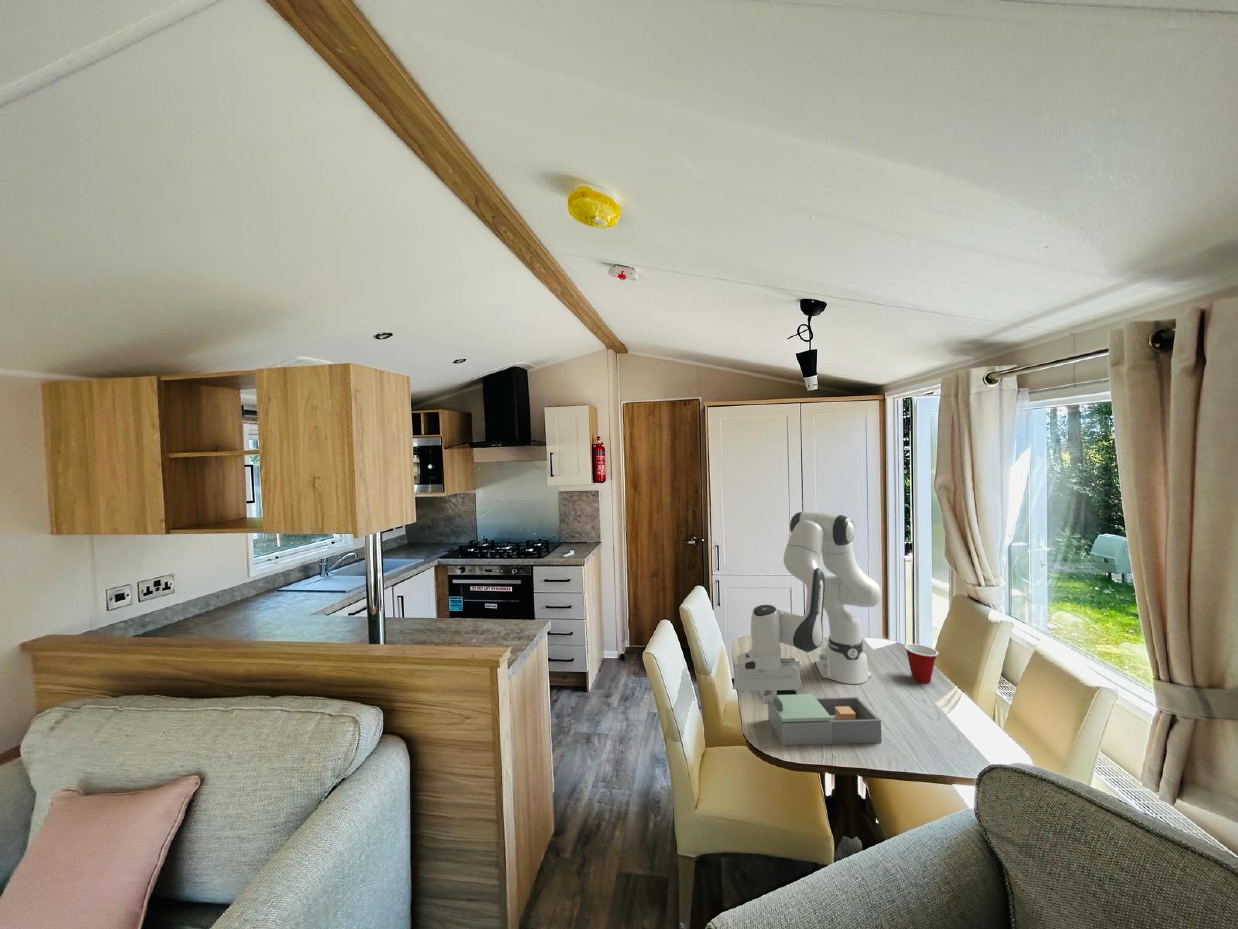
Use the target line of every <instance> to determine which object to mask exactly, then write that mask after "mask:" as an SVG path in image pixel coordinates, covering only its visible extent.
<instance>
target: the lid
mask: <svg viewBox="0 0 1238 929" xmlns="http://www.w3.org/2000/svg"><path fill="white" fill-rule="evenodd" d="M767 696H770V694H769V695H767ZM772 706H773V708H774V709H775V711H776V713H777V714H778V716H779V718H780V719H781V721H782V722H802V721H831V716H830V715H829V714H828V712H827V711H826V710H825V709H824V708H823V706H822V705H821V704H820V703H819V701H818V700H817V699H816V696H814V694H813V693H807V694H806V693H805V694H799V693H798V694H796V695H777V694H776V695H775V697H774V699H773V704H772Z"/></svg>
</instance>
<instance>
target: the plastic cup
mask: <svg viewBox="0 0 1238 929" xmlns="http://www.w3.org/2000/svg"><path fill="white" fill-rule="evenodd" d="M904 649H905V651H906V654H907V658H908V664H909V669H910V672H911V678H912V680H913V681H915V682H917V683H920V684H930V683H931V681H932V676H933V672H934V666H935V661H936V659H937V658H936V657H937V656H938V655H939V651H937V650H936V649H934V648H933V647H929V646H927V645H923V644H918V643H907V644H905V645H904Z"/></svg>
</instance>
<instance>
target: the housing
mask: <svg viewBox="0 0 1238 929" xmlns="http://www.w3.org/2000/svg"><path fill="white" fill-rule="evenodd" d="M815 698H816V697H815ZM816 699H817V700H818V701H819V703H820V704H821V705H822V706H823V708H824V709H825V710H826V711H827V712H828V714H829V715H830V716H831V721H802V722H782V721H781V719H780V718H779V716H778V714H777V713H776V711H775V709H774V708H773V706H772V704H767V713H768V715H767V717H768V719H767V720H768V722H769V723H770V724H771V727H772V728H773V730H774V733H775V734H776V736H777V737H778V739H779V741H780V743H781V744H782V746H798V745H802V746H803V745H833V744H835V745H836V744H837V745H840V744H867V743H868V744H870V743H871V744H873V743H874V744H875V743H882V720H881V719H880V718H879V717H878V716H877V715H876V714H875V713H874V712H873V711H872V709H870V708H869V707H868V706H867V705H866V704H865V703H864V702H863V701H862V700H861V699H860V698H859V697H858V696H846V697H842V696H841V697H819V698H818V697H817V698H816ZM842 706H849V707H850V708H851V709H852V710H853V711H854V712H855V713H856V720H835V707H842Z"/></svg>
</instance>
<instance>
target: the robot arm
mask: <svg viewBox="0 0 1238 929" xmlns="http://www.w3.org/2000/svg"><path fill="white" fill-rule="evenodd" d="M789 531H790V533H791V534H790V536H789V539H787V544H786V548H785V551H784V554H783V564H784V567H785V568H786V570H787V571H788V572H789V573H790V574H791V575H792V576H793V577H795V578H796V579H798V580H799V581H801V582H802V583H803V584H804V585H805V587H806V590H807V591H806V602H805V612H804V614H803V615H798V614H794V613H790V612H789V611H788V612H787V611H784V610H779V609H777V608H776V606H774V605H772V604H771V605H770V604H761V605H757V606H756V607H754V608H753V609H752V613H751V618H750V637H751V640H752V641H751V642H752V643H751V644H752V645H751V650H749V651H746V652H744V653H740V654H737V656H736V661H737V664H736V665H735V667H734V674H733V685H734V688H735V689H736V690H737V692H758V693H759V694H760V696H761V697H762V703H763V705H768V704H773V699H774V697H775V695H777V690H794V691H797V690H800V688H801V687H802V681H801V675H800V671H801V663H800V661H799V660H798V659H796V658H793V657H792V658H791V657H790V658H786V657H785V658H783V657H782V650H781V646H780V644H781V643H782V644H784V645H787V646H791V647H794V648H796V649H798V650H801V651H803V652H806V653H811V652H813V651H815V650H817V649H818V648H820V646H821V645H822V644H823V640H824V639H823V638H824V630H823V629H824V627H823V626H824V625H823V617H824V611H825V613H826V615H827V619H828V624H829V625H828V626H829V627H828V628H829V635H828V640H827V646H825V647H824V648H822V650H821V651H820V652H821V653H819V654H818V657H819V658H817V659H816V660H815V664H816V666H817V669H818V670H819V673H820V675H821V677H822V678H825V679H829V680H833V681H835V682H839V683H843V684H850V685H855V684H856V685H858V684H863V683H866V682H868V679H869V678H871V677H872V672H871V671H869V670H868V669H869V668H868V661H867V660H868V659H867V653H866V654H865V652H863V651H864V644H863V643H864V642H863V640H862V623H861V621H860V619H859V617H857V616H856V615H855V614H854V613H852V612H850V611H849V609H848V608H847V607H846V606H845V605H847V606H852V607H858V608H872V607H873V608H874V607H876V606H877V605H878V604H879V603H880V601H881V599H882V590H881V588H880V587H881V586H879V584H878V583H877V581H875V580H874V579H872V578H871V577H870V576H868V575H866V573H864V571H862V569H861V568H860V567H859V565H858V563H857V561H856V557H855V552H854V548H853V540H854V537H855V533H856V529H855V522H853V520H852V519H851V518H850V517H849V516H845V515H841V514H834V513H828V512H807V511H801V512H796V513H795V514H794V515H793V516H792V517H791V520H790V522H789ZM821 556H822V562H823V566H824V567H825V568H826V570H827V571H828V572H830V573H827V572H826V573H824V572H823V570H821V568H820V557H821ZM767 691H769V692H770V694H769V695H770V696H768V695H764V694H765V693H766V692H767Z"/></svg>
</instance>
